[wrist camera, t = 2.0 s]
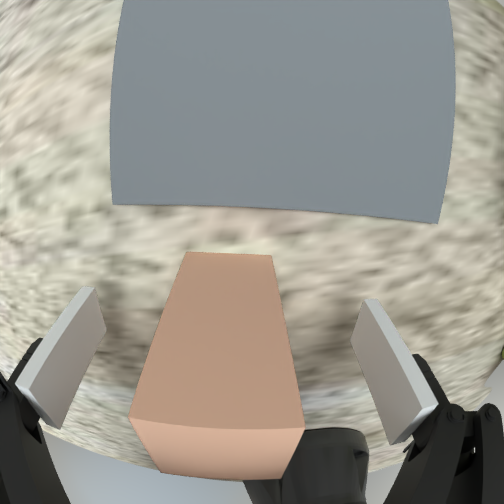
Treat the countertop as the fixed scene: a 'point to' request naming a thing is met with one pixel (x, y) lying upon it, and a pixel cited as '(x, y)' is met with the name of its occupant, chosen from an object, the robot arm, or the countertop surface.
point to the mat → (284, 105)
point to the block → (220, 374)
